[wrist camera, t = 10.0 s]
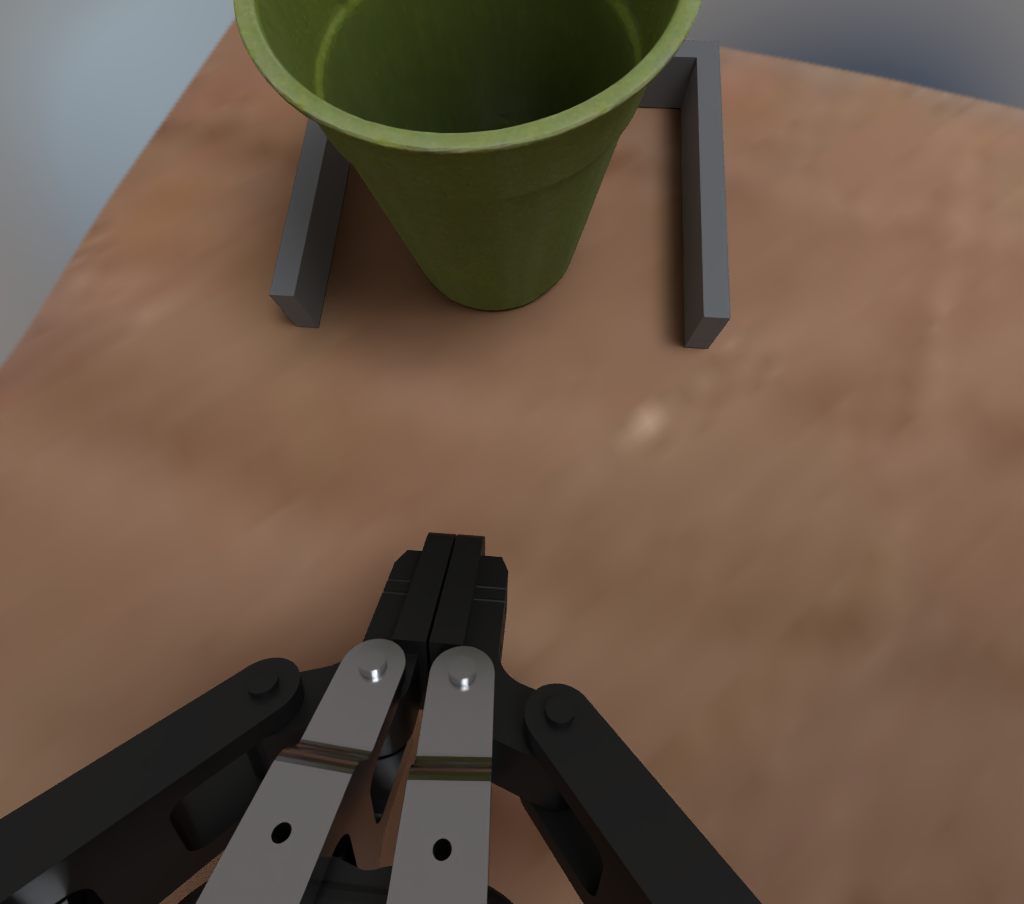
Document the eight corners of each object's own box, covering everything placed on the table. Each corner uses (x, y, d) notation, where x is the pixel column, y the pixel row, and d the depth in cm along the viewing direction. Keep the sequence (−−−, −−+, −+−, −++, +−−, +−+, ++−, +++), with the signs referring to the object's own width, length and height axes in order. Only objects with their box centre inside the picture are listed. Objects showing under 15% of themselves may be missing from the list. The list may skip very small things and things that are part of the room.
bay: (700, 93, 26) (719, 41, 23) (708, 348, 22) (730, 318, 19) (346, 82, 26) (328, 30, 24) (296, 326, 23) (268, 294, 20)
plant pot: (337, 187, 25) (187, -131, 14) (566, 114, 25) (595, -241, 15) (409, 402, 22) (290, 211, 11) (666, 312, 22) (798, 48, 12)
